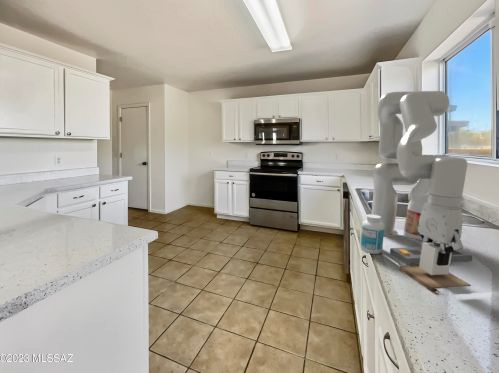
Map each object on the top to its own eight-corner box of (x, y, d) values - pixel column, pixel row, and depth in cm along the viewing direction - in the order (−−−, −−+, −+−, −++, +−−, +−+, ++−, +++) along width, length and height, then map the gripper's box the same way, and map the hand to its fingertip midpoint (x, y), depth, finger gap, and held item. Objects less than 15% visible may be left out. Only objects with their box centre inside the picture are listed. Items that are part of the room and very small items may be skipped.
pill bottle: (375, 246, 96) (378, 213, 94) (386, 254, 89) (390, 219, 86) (356, 246, 96) (359, 213, 94) (365, 255, 89) (369, 219, 86)
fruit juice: (410, 231, 111) (421, 170, 106) (433, 239, 103) (446, 174, 98) (398, 235, 107) (408, 171, 101) (421, 243, 99) (434, 175, 93)
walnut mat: (399, 269, 79) (400, 265, 79) (433, 267, 80) (434, 263, 80) (430, 291, 67) (431, 287, 67) (469, 288, 68) (470, 284, 68)
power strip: (389, 256, 88) (390, 246, 87) (449, 253, 91) (451, 243, 90) (405, 267, 80) (407, 256, 80) (471, 263, 83) (473, 253, 82)
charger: (419, 267, 75) (422, 240, 74) (435, 266, 76) (439, 240, 74) (431, 275, 71) (435, 247, 69) (448, 274, 71) (453, 246, 70)
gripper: (409, 194, 77) (402, 249, 81) (460, 209, 61) (449, 276, 64) (430, 194, 78) (423, 248, 81) (487, 208, 62) (474, 275, 65)
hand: (434, 260), depth 73 cm, fingers closed on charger, 4 cm apart
